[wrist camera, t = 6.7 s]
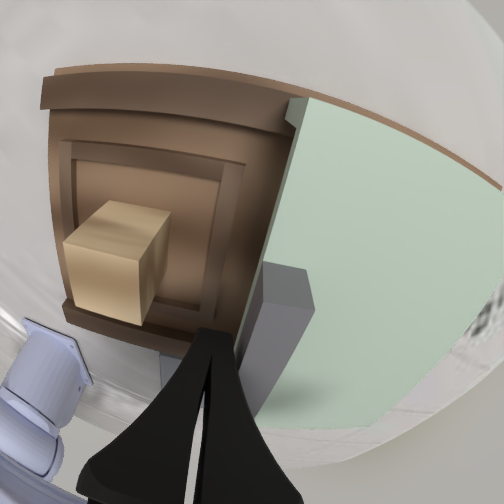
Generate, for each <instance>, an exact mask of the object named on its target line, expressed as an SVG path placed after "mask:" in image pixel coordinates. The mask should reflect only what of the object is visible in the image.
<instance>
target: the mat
mask: <svg viewBox="0 0 504 504" xmlns="http://www.w3.org/2000/svg"><path fill="white" fill-rule="evenodd" d="M183 358H184V357H182V356H178V355H173V354H169V353H165V352H160V372H161V387H162V389H163V388H164V386H165V385H166V384H167V382H168V381H169V379H170V378H171V377H172V375H173V374H174V372H175V371H176V369H177V368H178V366H179V365H180V363H181V361H182V360H183ZM204 392H205V391H204ZM200 407H201V408H204V395H203V399H202V402H201V406H200Z"/></svg>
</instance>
